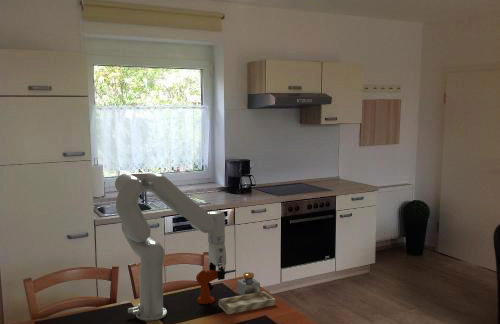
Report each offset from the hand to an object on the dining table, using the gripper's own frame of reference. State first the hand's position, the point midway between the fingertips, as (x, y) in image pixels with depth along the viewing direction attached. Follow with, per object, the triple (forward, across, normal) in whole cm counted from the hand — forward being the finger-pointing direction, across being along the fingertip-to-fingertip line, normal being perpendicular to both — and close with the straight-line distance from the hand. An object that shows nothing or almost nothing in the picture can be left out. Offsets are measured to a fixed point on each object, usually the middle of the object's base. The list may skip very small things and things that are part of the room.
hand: (216, 275), depth 205 cm
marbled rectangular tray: (+12, -10, -10) cm, 19 cm away
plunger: (+12, +1, -16) cm, 20 cm away
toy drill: (+12, 0, +1) cm, 12 cm away
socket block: (+12, +1, -16) cm, 20 cm away
